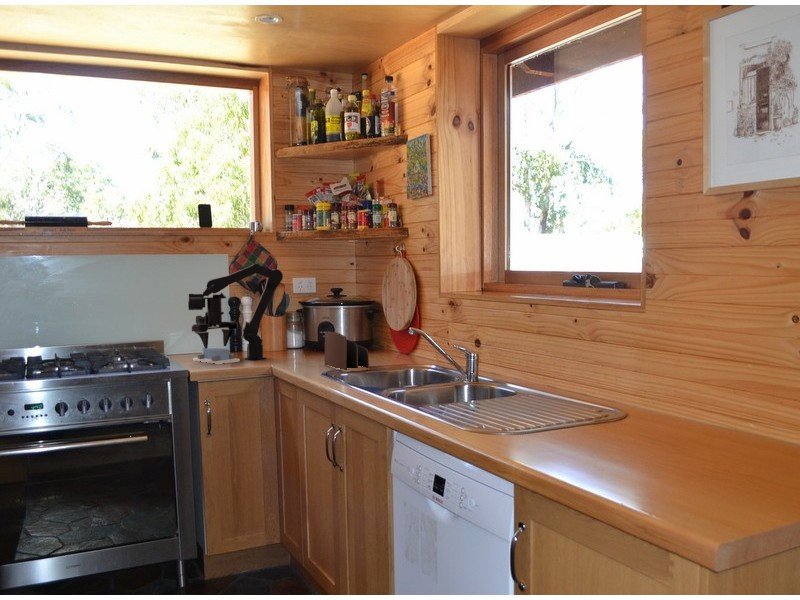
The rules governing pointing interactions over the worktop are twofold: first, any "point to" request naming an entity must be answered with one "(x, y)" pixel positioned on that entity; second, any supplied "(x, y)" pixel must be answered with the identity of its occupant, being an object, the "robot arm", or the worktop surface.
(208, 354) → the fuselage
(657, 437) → the worktop surface
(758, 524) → the worktop surface
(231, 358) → the cradle
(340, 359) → the letter holder
